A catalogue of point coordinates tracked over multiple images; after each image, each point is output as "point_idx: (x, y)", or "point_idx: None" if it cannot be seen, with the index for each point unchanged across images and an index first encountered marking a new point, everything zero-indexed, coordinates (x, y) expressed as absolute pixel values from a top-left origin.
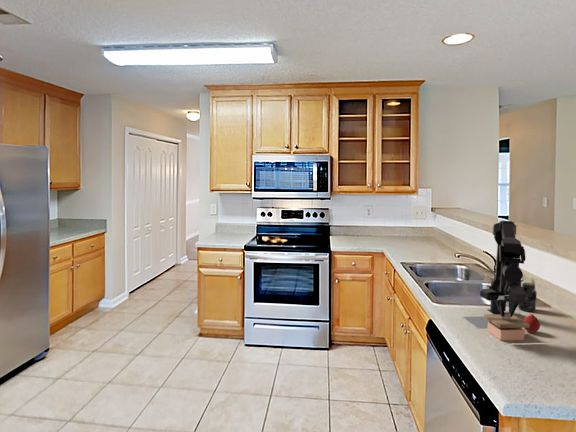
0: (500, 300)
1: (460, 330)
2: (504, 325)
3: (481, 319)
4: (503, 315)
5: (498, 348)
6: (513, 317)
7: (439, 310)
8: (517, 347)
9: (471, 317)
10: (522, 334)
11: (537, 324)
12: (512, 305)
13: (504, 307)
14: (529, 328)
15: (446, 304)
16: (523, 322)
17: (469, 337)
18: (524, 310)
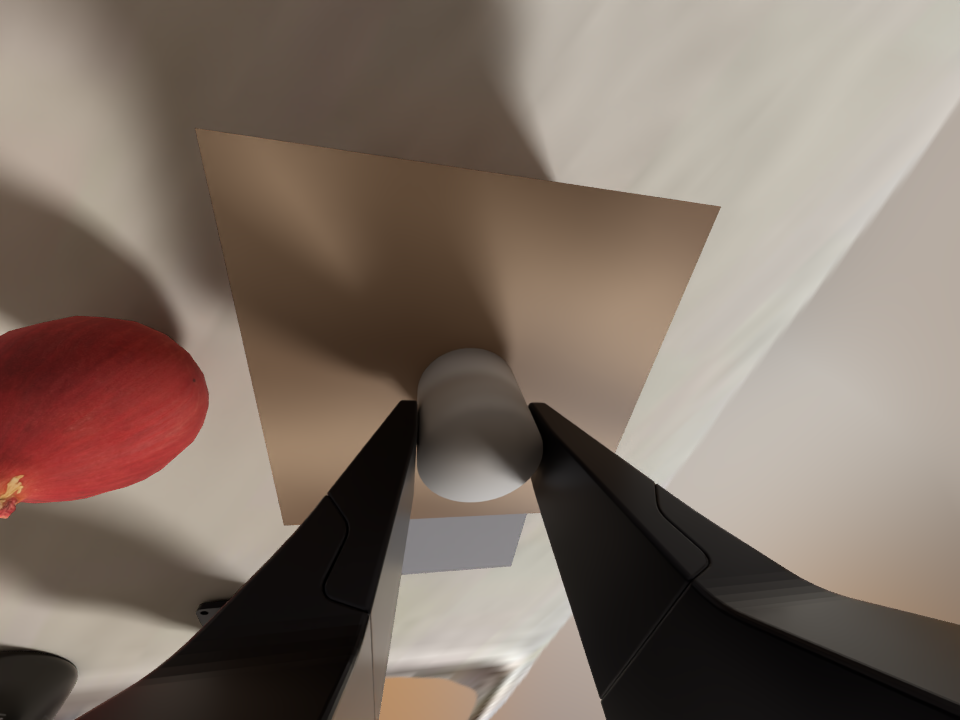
0: None
1: (655, 426)
2: (656, 198)
3: (429, 543)
4: (544, 411)
5: (692, 72)
6: (327, 438)
7: (548, 616)
8: (499, 48)
9: (468, 562)
10: None
11: (6, 344)
12: (384, 599)
13: (633, 514)
14: (162, 341)
15: (467, 663)
16: (276, 251)
17: (701, 327)
18: (45, 660)
